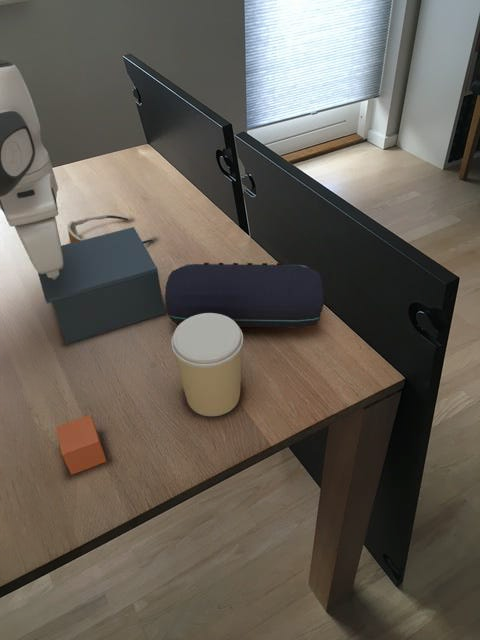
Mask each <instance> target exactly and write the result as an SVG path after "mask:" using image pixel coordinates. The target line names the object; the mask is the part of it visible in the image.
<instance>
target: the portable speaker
mask: <svg viewBox="0 0 480 640" xmlns="http://www.w3.org/2000/svg"><path fill="white" fill-rule="evenodd" d="M164 292H165V293H164V302H165V308H166V312H167V314H168V318H169V320H171V322H174V323H176V324H178V325H180V324H181V323H182V322H183V321H184V320H186V319H188V318H190V317H192V316H195V315H198V314H203V313H216V314H221V315H224V316H227V317H229V318H231V319H232V320H233V321H234V322H235V323H236V324H237V325H238V326H239V328H240V327H241V328H244V327H245V328H304V327H310V326H313V325H316V324H318V323H319V321H320V318H321V316H322V312H323V309H324V305H325V287H324V286H323V282H322V278H321V276H320V273H319V272H318V271H316V270H315V269H313V268H312V267H309V266H306V265H304V264H283V263H282V262H277V263H276V264H268V262H263V263H261V264H254V263H253V262H247V264H241V263H240V264H239V262H233V263H232V264H229V263H228V264H226V263H224V262H218V264H217V263H209V262H203V263H189V264H188V263H187V264H184V265H183V266H179V268H178V267H177V268H175V269H174V270H172V271H171V272H170V273H169V275H168V278H167V281H166V283H165V291H164Z"/></svg>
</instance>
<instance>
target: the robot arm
mask: <svg viewBox="0 0 480 640" xmlns="http://www.w3.org/2000/svg"><path fill="white" fill-rule="evenodd" d="M58 191H59V185H58V182H57V178H56V175H55V171H54V168H53V165H52V162H51V158H50V154H49V152H48V150H47V149H46V147H45V146H44V144H43V141H42V136H41V123H40V120H39V117H38V114H37V111H36V108H35V104H34V102H33V99H32V96H31V94H30V91H29V88H28V86H27V84H26V82H25V79H24V77H23V75H22V73H21V71H20V70H19V69H18V67H17V65H16V64H14V63H12V62H10V61H9V60H3V59H0V210H1V211H2V212H3V214H4V216H5V219H6V222H7V223H8V225H9V226H10V227H14V229H15V231H16V234H17V235H18V238H19V239H20V242H21V244H22V246H23V248H24V250H25V253H26V254H27V256H28V258H29V260H30V262H31V264H32V266H33V267H34V269H35V270H36V272H37V274H38V273H39V274H45V273H46V274H47V277H48V278H53V277H57V276H59V270H60V269H62V268H63V265H64V262H63V254H62V249H61V246H62V244H61V238H60V234H59V229H58V222H57V216H59V208H58V205H57V204H58V203H57V195H58Z"/></svg>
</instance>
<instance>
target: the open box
mask: <svg viewBox="0 0 480 640" xmlns="http://www.w3.org/2000/svg"><path fill="white" fill-rule="evenodd" d="M51 303H52V306H53V309H54V311H55V314H56V317H57V320H58V324H59V325H60V329H61V331H62V334H63V337H64V340H65V343H66V344H67V345H69V344H72V343H76V342H79V341H82V340H85V339H89V338H91V337H94V336H98V335H101V334H105V333H109V332H110V331H111V332H112V331H114V330H117V329H121V328H124V327H127V326H130V325H134V324H137V323H140V322H143V321H146V320H147V321H148V320H150V319H153V318H156V317H160V316H163V315H165V314H166V312H165V311H166V310H165V306H164V299H163V294H162V288H161V283H160V276H159V271H158V272H156V273H152V274H149V275H145V276H142V277H138V278H135V279H131V280H128V281H124V282H121V283H117V284H114V285H110V286H107V287H103V288H100V289H96V290H93V291H89V292H86V293H82V294H79V295H75V296H72V297H68V298H65V299H61V300H58V301H55V302H51Z"/></svg>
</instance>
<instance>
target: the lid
mask: <svg viewBox="0 0 480 640" xmlns="http://www.w3.org/2000/svg"><path fill="white" fill-rule="evenodd" d="M142 241H143V240H142V239H141V237H140V235H139V234H138V232H137V230H136V228H135V227H134V226H132V227H127V228H123V229H119V230H117V231H112V232H109V233H105V234H101V235H97V236H93V237H89V238H86V239H82V240H81V241H77V242H73V243H71V242H70V243H66V244H61V249H62V254H63V262H64V265H63V268H62V269H60V270H59V276H57V277H53V278H48V277H47V274H46V273H45V274H39V273H38V272H37V274H38V278H39V279H38V280H39V282H40V286H41V290H42V293H43V297H44V300H45V303H46V304H51V303H52V302H55V301H58V300H61V299H65V298H68V297H72V296H75V295H79V294H82V293H86V292H89V291H93V290H96V289H100V288H103V287H107V286H110V285H114V284H117V283H121V282H124V281H128V280H131V279H135V278H138V277H142V276H145V275H149V274H152V273H156V272H158V273H159V271H158V266H157V265H156V264H155V261H154V260H153V258H152V256H151V254H150V253H149V251H148V250H147V248H146V246H145V244H143V242H142Z"/></svg>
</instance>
